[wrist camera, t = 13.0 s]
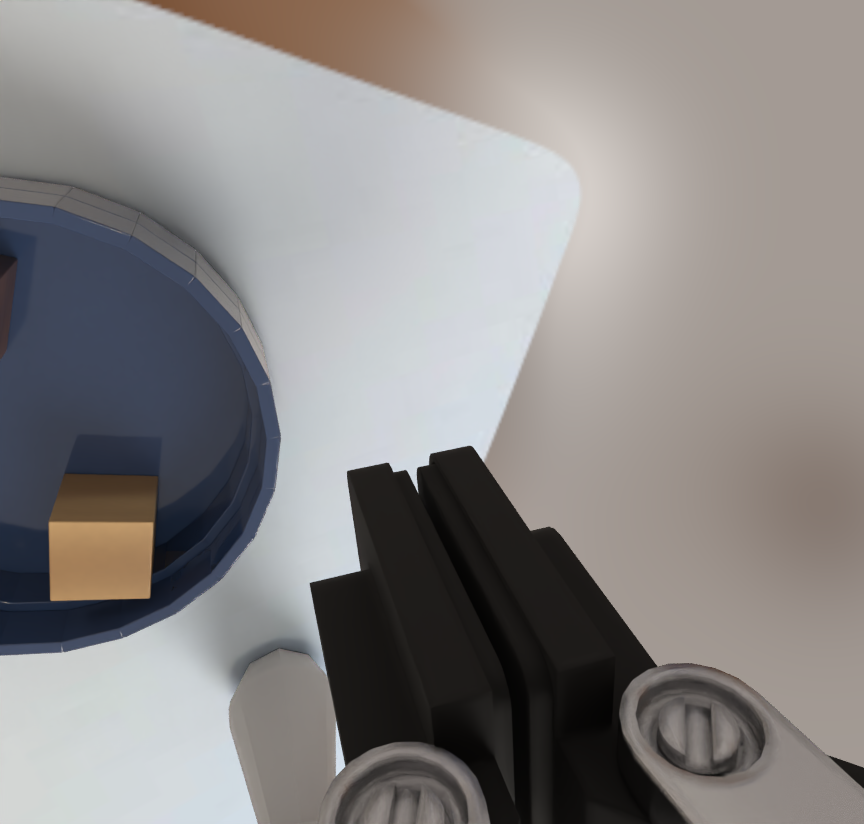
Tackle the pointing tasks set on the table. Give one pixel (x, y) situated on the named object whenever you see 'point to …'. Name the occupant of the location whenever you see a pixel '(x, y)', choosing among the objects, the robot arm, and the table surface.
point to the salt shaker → (285, 736)
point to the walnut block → (6, 297)
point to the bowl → (123, 407)
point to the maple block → (103, 537)
